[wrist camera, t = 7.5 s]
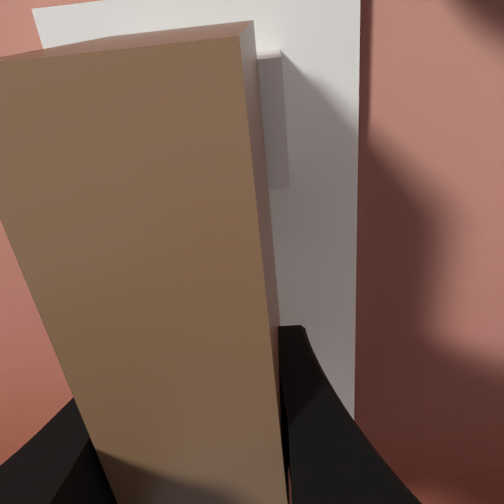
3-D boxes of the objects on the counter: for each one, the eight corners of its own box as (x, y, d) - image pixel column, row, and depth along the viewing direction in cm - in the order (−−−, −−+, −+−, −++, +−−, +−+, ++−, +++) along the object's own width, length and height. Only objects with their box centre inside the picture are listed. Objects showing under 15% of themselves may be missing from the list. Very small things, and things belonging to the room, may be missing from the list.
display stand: (351, 421, 19) (362, 476, 16) (163, 429, 19) (150, 484, 17) (356, -29, 11) (379, -38, 9) (42, 9, 11) (-11, 9, 9)
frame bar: (292, 463, 16) (304, 664, 11) (209, 466, 16) (184, 665, 11) (253, 20, 9) (239, 35, 4) (109, 36, 9) (-62, 68, 4)
